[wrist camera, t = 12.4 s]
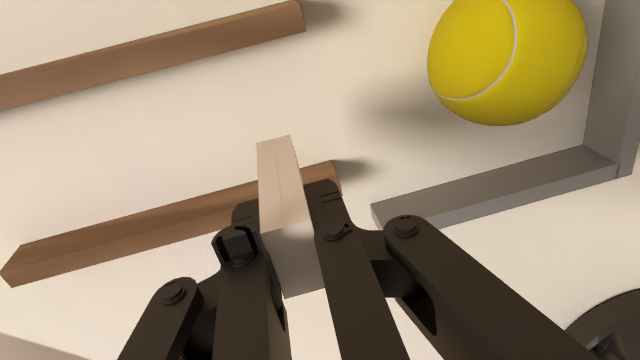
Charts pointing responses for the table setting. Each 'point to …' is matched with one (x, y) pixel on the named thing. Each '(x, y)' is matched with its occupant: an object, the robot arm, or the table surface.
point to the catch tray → (561, 167)
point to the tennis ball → (506, 58)
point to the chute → (120, 64)
